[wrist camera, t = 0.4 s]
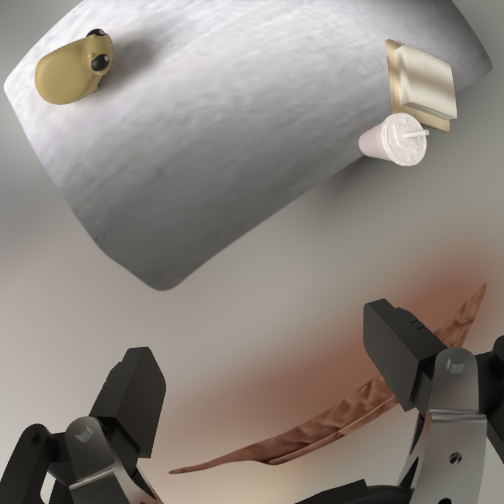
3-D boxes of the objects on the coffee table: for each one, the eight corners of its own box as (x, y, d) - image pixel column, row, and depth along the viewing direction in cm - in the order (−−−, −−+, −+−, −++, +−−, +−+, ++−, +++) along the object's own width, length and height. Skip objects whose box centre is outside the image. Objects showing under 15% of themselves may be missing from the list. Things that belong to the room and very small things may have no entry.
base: (384, 41, 29) (397, 32, 25) (438, 62, 30) (452, 57, 26) (391, 116, 33) (407, 112, 29) (445, 132, 34) (461, 131, 30)
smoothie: (364, 114, 33) (421, 94, 20) (394, 142, 34) (457, 137, 21) (342, 146, 34) (396, 136, 21) (374, 174, 36) (435, 180, 22)
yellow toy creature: (130, 87, 30) (98, 63, 20) (63, 120, 30) (21, 110, 20) (123, 37, 27) (95, 5, 17) (59, 69, 27) (22, 52, 17)
